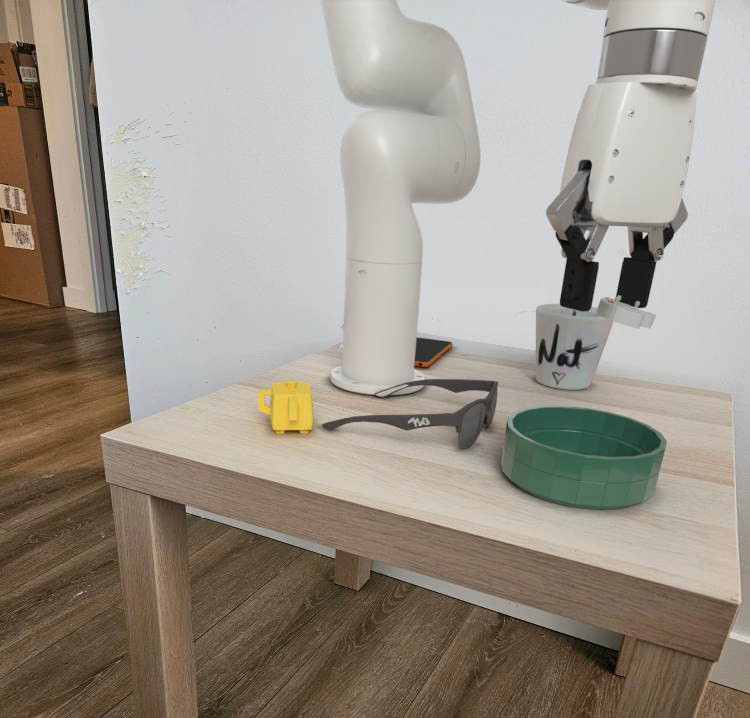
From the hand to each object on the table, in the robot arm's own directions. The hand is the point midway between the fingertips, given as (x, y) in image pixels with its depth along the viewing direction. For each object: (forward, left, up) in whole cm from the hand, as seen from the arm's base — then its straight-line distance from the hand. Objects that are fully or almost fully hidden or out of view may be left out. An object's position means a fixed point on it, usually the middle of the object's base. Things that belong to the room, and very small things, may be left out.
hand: (603, 305), depth 60 cm
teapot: (-21, -22, -16) cm, 34 cm away
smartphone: (-45, +10, -16) cm, 48 cm away
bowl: (+2, -2, -16) cm, 16 cm away
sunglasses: (-17, -8, -16) cm, 24 cm away
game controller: (0, -2, -2) cm, 2 cm away
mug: (-26, +23, -16) cm, 38 cm away
